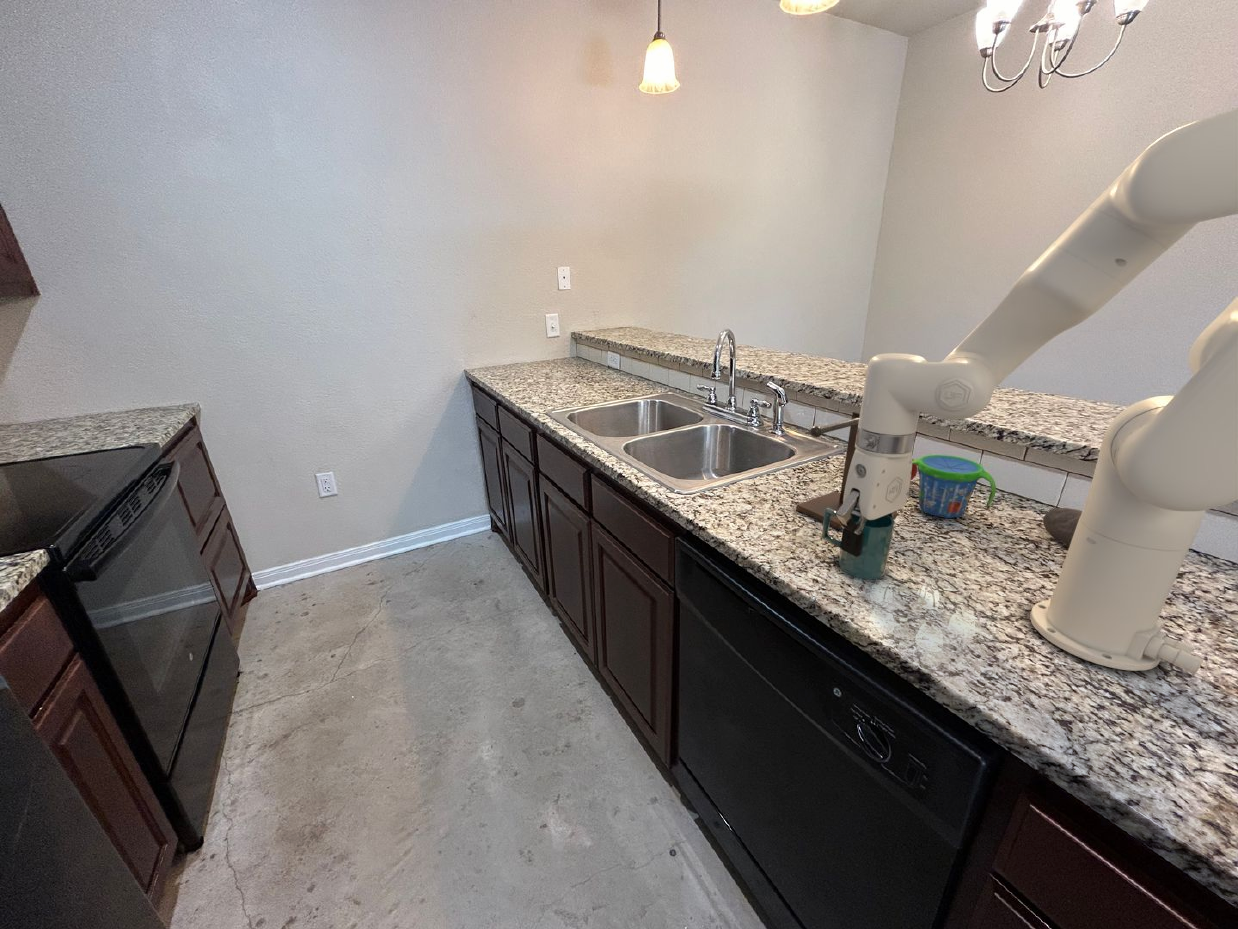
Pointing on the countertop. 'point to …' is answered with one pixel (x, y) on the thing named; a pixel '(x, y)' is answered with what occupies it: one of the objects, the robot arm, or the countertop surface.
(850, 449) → the mug rack
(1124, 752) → the countertop surface
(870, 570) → the mug
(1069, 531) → the perforated stone tool
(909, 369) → the robot arm
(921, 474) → the snack cup
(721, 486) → the countertop surface
